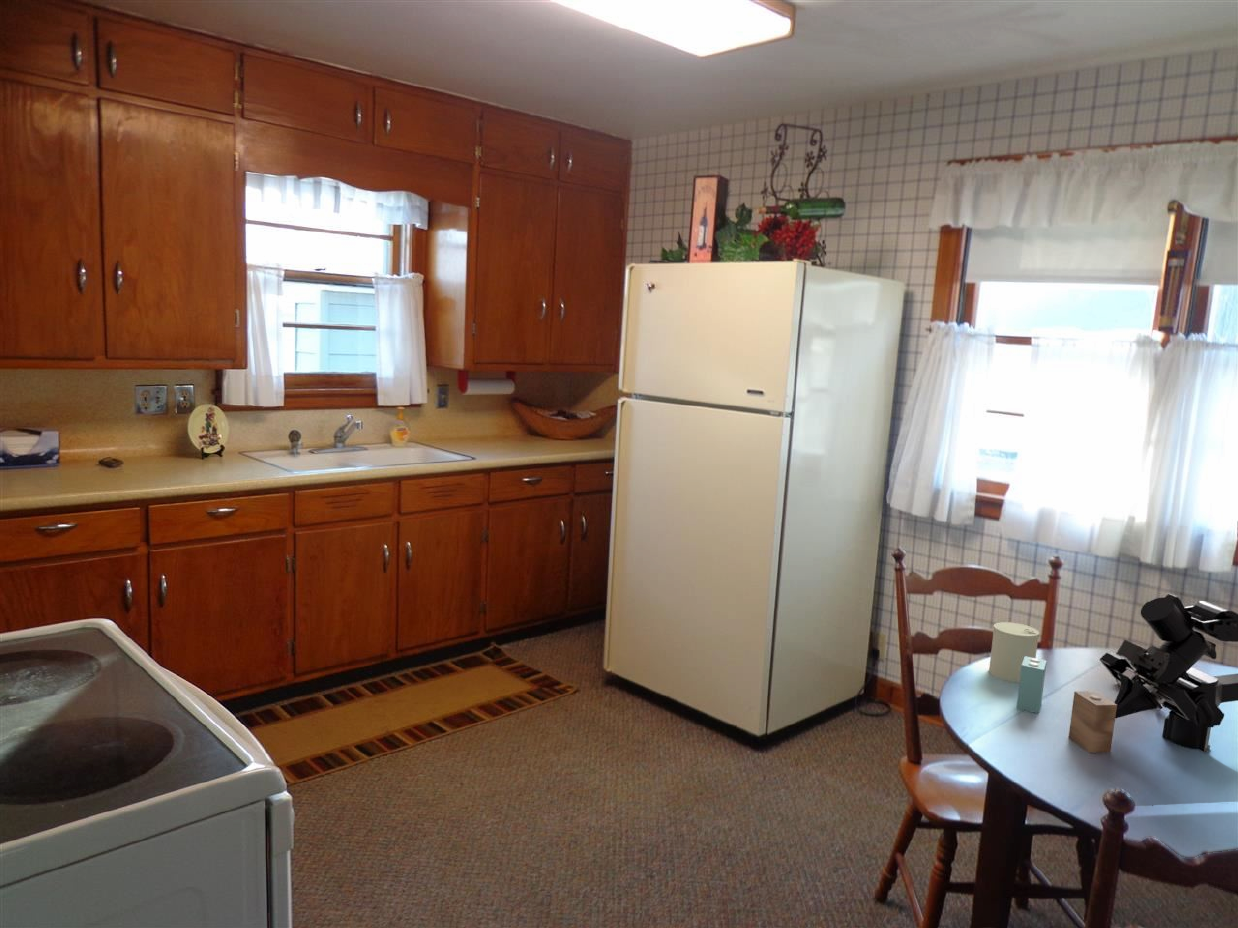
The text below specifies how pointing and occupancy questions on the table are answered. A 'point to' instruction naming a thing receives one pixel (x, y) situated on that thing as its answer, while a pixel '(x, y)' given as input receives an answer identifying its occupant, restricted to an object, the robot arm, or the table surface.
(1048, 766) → the table surface
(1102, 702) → the brown box
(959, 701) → the table surface
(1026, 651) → the can
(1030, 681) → the teal block
